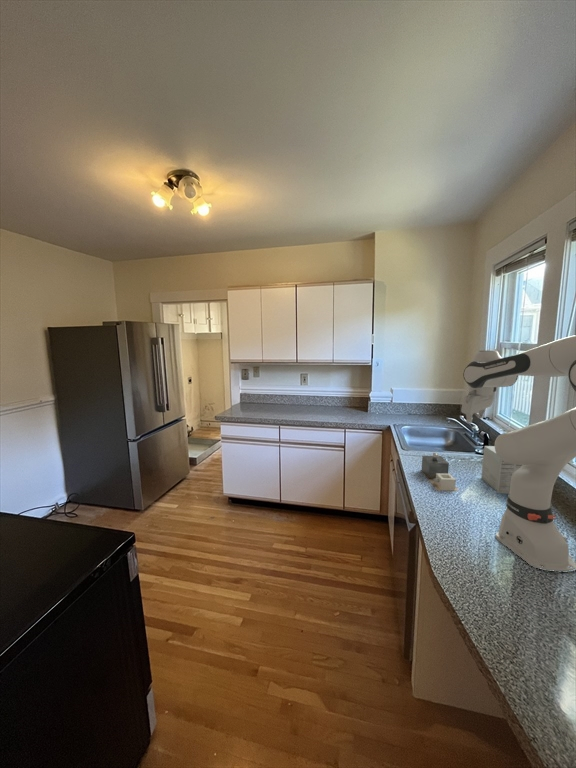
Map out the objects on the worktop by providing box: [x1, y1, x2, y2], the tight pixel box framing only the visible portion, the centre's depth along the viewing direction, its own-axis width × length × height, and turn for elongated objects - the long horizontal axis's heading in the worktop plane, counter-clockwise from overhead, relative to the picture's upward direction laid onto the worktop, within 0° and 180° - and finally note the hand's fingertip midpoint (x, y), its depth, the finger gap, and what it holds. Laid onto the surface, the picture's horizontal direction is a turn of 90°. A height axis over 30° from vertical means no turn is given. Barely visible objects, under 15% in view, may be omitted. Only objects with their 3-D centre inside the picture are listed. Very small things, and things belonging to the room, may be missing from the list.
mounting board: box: [420, 470, 460, 492], centre depth 148 cm, size 21×10×2 cm, turn 177°
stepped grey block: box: [420, 452, 450, 480], centre depth 152 cm, size 9×9×11 cm
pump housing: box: [433, 473, 457, 490], centre depth 141 cm, size 6×8×5 cm
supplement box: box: [481, 445, 522, 495], centre depth 142 cm, size 13×13×18 cm
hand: (474, 419), depth 132 cm, fingers open, 8 cm apart
